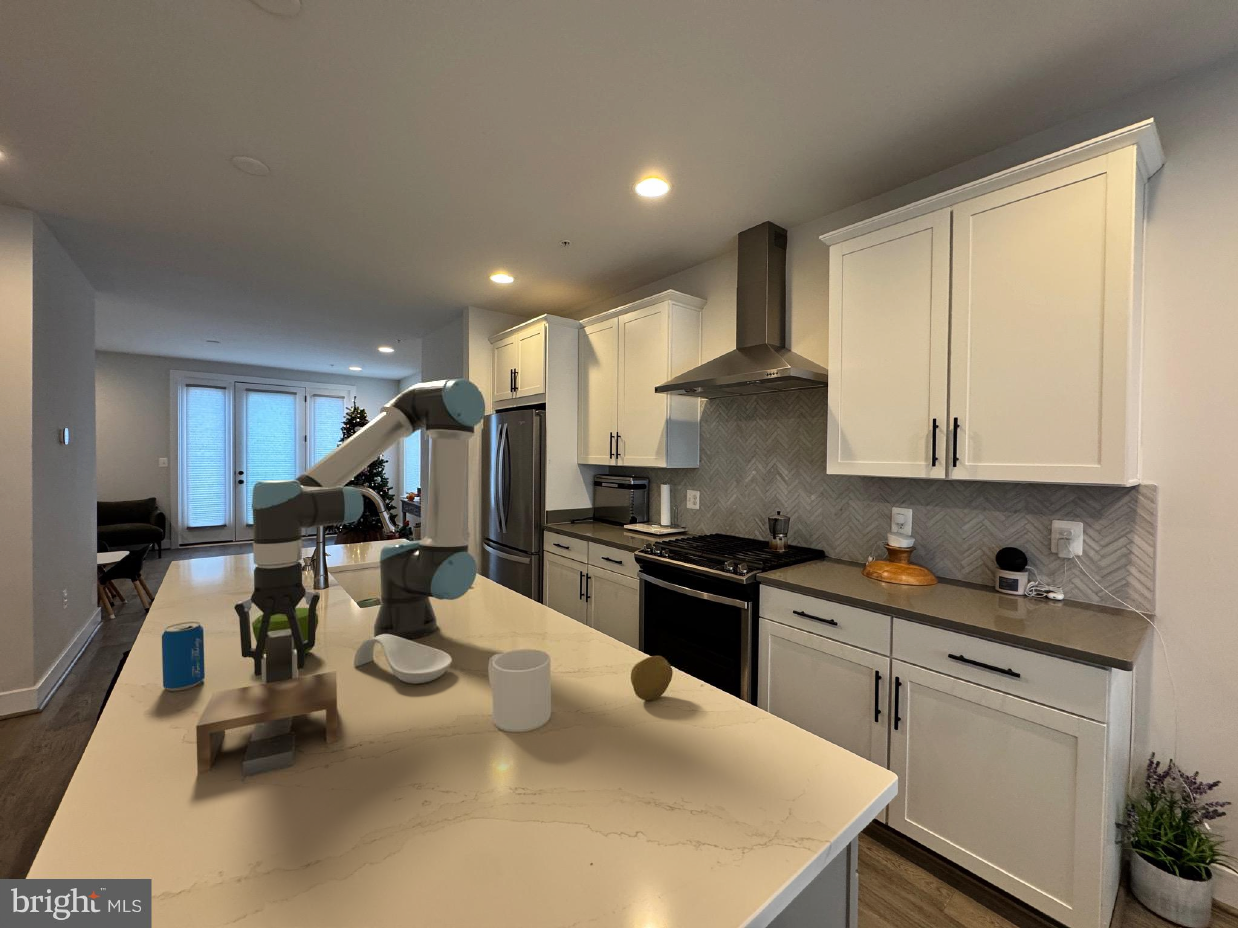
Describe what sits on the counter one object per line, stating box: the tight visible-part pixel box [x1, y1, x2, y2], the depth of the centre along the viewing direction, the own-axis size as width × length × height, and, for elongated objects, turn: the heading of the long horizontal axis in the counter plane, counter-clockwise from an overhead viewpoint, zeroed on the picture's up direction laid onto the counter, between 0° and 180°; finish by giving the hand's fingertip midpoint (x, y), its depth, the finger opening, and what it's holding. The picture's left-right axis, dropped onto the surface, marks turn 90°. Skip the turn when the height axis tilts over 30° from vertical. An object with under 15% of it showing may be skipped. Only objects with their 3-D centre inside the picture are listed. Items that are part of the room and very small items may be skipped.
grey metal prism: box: [250, 629, 294, 741], centre depth 92 cm, size 5×20×12 cm, turn 28°
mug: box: [487, 648, 552, 733], centre depth 94 cm, size 13×10×10 cm
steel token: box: [242, 731, 296, 779], centre depth 80 cm, size 6×6×2 cm
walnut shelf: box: [195, 670, 338, 774], centre depth 87 cm, size 18×12×7 cm, turn 118°
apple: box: [251, 607, 319, 655], centre depth 121 cm, size 12×12×11 cm
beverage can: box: [161, 621, 206, 692], centre depth 106 cm, size 6×6×12 cm
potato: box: [630, 655, 674, 702], centre depth 100 cm, size 7×8×8 cm
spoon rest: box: [353, 634, 453, 685], centre depth 112 cm, size 24×12×7 cm, turn 65°
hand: (280, 688), depth 99 cm, fingers closed on grey metal prism, 4 cm apart
